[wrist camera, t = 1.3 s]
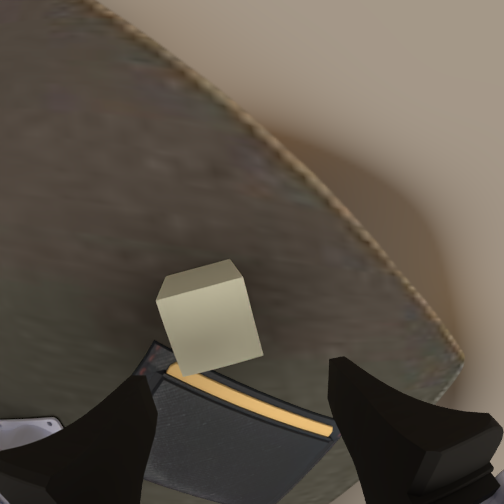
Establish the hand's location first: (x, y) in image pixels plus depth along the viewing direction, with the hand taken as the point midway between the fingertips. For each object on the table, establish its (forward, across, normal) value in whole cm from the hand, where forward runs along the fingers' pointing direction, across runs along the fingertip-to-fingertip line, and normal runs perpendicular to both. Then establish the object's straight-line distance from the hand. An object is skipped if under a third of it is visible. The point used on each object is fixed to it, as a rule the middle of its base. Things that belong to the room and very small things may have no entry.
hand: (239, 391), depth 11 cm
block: (+11, +2, 0) cm, 11 cm away
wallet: (+10, +3, +14) cm, 18 cm away
